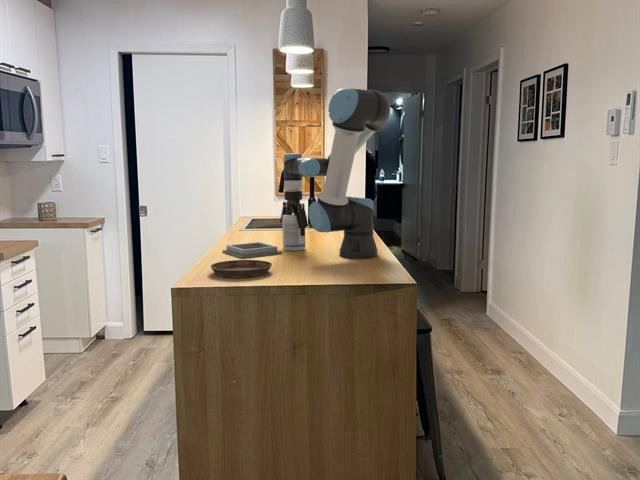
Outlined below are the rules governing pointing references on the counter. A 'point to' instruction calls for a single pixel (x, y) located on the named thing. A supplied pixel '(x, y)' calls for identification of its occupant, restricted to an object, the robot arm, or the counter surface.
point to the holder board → (251, 250)
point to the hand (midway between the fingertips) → (293, 241)
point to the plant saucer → (241, 268)
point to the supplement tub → (291, 233)
